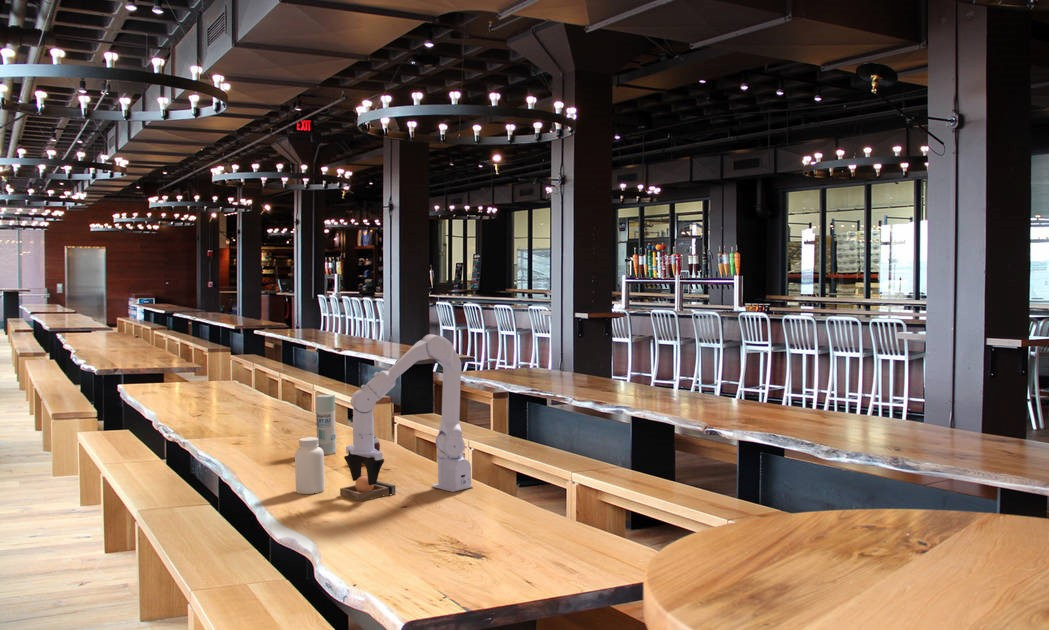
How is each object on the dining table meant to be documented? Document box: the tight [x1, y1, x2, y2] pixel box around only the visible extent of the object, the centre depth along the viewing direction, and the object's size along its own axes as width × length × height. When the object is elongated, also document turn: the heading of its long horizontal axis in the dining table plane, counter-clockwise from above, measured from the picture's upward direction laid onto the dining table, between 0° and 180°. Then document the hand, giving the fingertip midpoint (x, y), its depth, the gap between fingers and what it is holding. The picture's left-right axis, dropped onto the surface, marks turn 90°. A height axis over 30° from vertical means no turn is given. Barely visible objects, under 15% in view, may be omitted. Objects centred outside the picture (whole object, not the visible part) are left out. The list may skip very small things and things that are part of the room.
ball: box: [355, 475, 374, 493], centre depth 241 cm, size 5×5×5 cm
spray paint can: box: [315, 394, 337, 456], centre depth 299 cm, size 6×6×20 cm
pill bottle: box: [294, 436, 325, 495], centre depth 246 cm, size 8×8×15 cm
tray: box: [339, 484, 390, 502], centre depth 241 cm, size 10×10×2 cm
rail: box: [376, 480, 396, 495], centre depth 245 cm, size 12×1×2 cm, turn 46°
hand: (364, 482), depth 240 cm, fingers open, 7 cm apart
